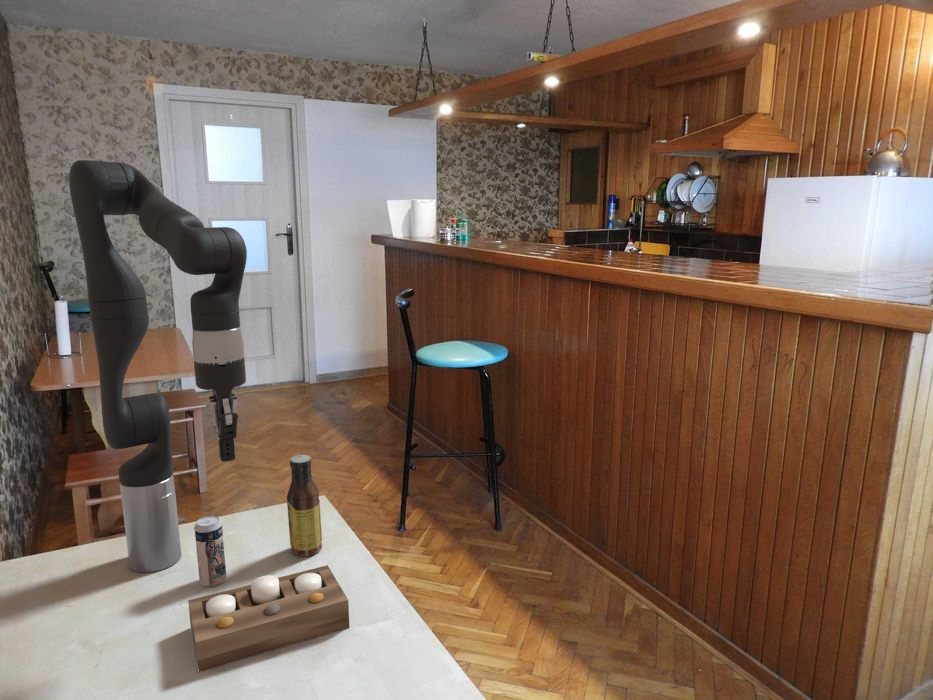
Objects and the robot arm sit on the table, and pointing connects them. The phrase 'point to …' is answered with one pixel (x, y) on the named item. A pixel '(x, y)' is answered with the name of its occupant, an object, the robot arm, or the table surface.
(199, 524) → the beer can
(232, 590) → the button board
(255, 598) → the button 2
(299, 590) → the button
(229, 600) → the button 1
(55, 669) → the table surface
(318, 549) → the sauce bottle
